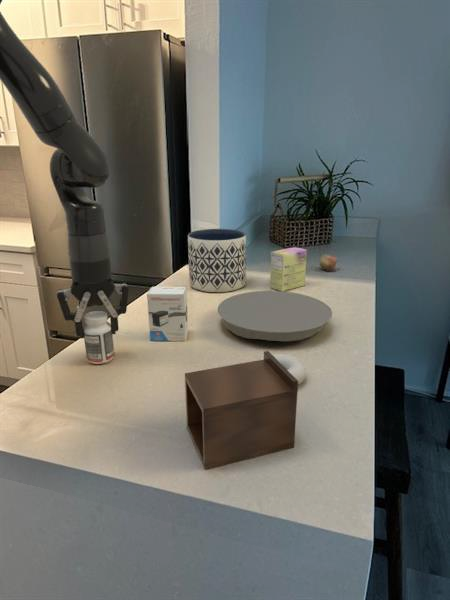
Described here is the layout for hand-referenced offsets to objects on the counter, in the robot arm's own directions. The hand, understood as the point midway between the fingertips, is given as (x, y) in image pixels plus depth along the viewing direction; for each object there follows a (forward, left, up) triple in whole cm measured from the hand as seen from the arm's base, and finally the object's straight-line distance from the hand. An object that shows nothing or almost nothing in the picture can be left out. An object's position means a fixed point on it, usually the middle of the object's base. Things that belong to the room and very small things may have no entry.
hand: (98, 334), depth 89 cm
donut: (+32, -20, -6) cm, 38 cm away
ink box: (+16, +6, -6) cm, 18 cm away
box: (+60, +30, -6) cm, 67 cm away
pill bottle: (0, 0, -6) cm, 6 cm away
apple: (+82, +42, -6) cm, 92 cm away
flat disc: (+42, +4, -6) cm, 43 cm away
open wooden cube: (+18, -34, -6) cm, 39 cm away
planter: (+40, +40, -6) cm, 57 cm away
